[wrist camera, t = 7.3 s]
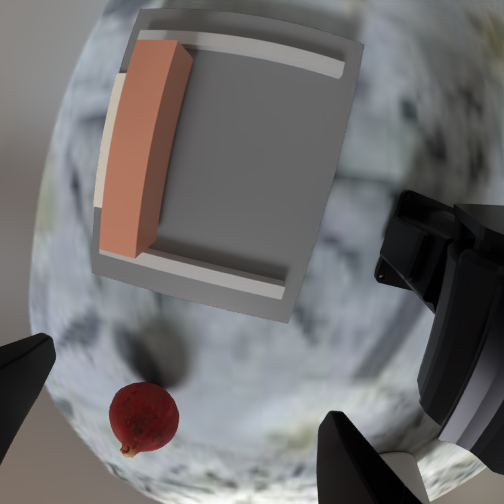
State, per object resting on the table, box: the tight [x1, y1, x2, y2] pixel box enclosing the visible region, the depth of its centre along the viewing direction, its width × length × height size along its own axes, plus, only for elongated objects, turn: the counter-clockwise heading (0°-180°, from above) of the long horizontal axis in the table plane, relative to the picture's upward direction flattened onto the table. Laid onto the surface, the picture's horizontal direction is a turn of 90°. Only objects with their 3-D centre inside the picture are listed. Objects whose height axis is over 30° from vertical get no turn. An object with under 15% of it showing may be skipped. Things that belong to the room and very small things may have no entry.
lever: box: [99, 40, 193, 259], centre depth 13 cm, size 2×10×3 cm, turn 167°
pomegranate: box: [109, 382, 179, 458], centre depth 20 cm, size 6×6×8 cm
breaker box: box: [92, 8, 364, 323], centre depth 15 cm, size 13×17×3 cm
